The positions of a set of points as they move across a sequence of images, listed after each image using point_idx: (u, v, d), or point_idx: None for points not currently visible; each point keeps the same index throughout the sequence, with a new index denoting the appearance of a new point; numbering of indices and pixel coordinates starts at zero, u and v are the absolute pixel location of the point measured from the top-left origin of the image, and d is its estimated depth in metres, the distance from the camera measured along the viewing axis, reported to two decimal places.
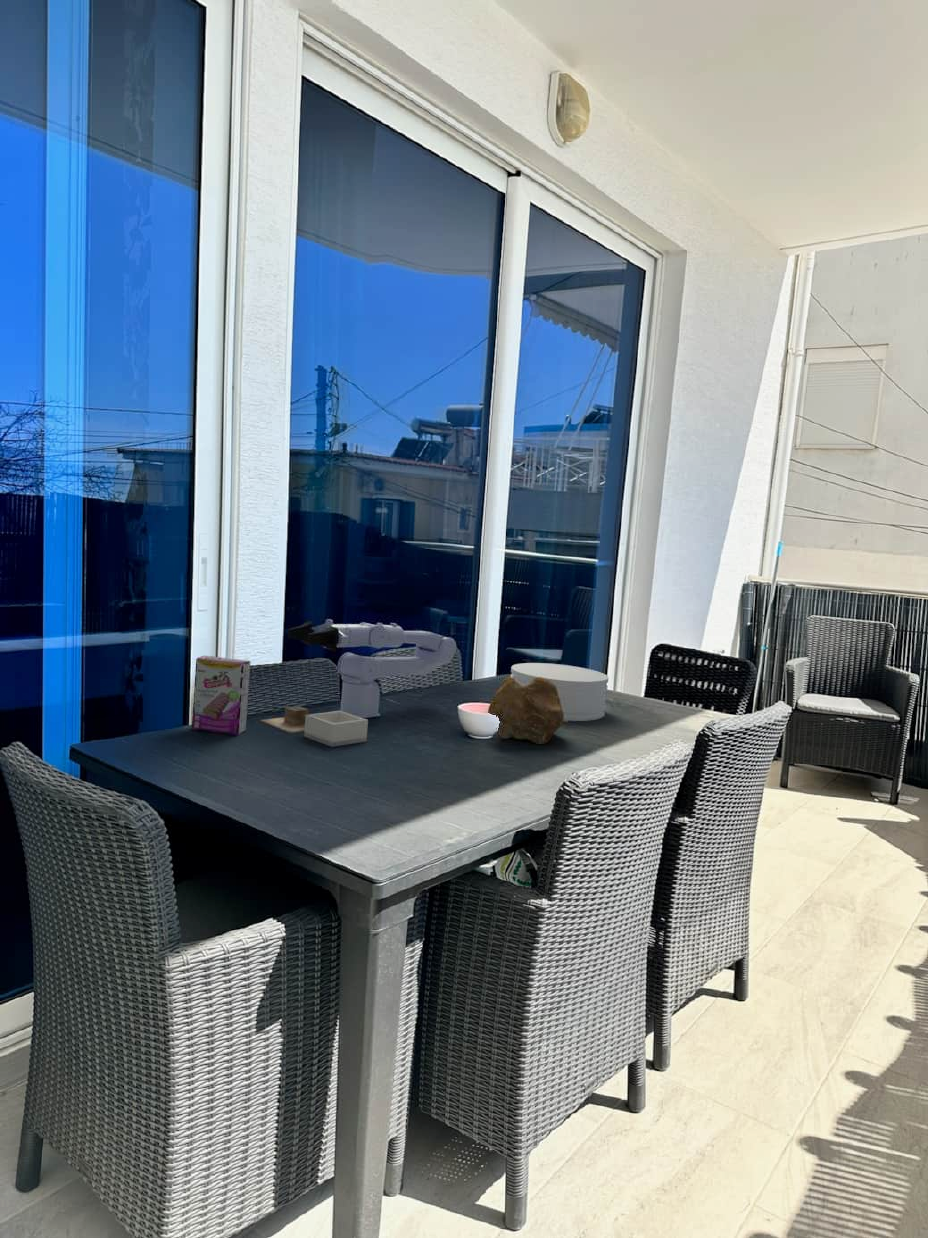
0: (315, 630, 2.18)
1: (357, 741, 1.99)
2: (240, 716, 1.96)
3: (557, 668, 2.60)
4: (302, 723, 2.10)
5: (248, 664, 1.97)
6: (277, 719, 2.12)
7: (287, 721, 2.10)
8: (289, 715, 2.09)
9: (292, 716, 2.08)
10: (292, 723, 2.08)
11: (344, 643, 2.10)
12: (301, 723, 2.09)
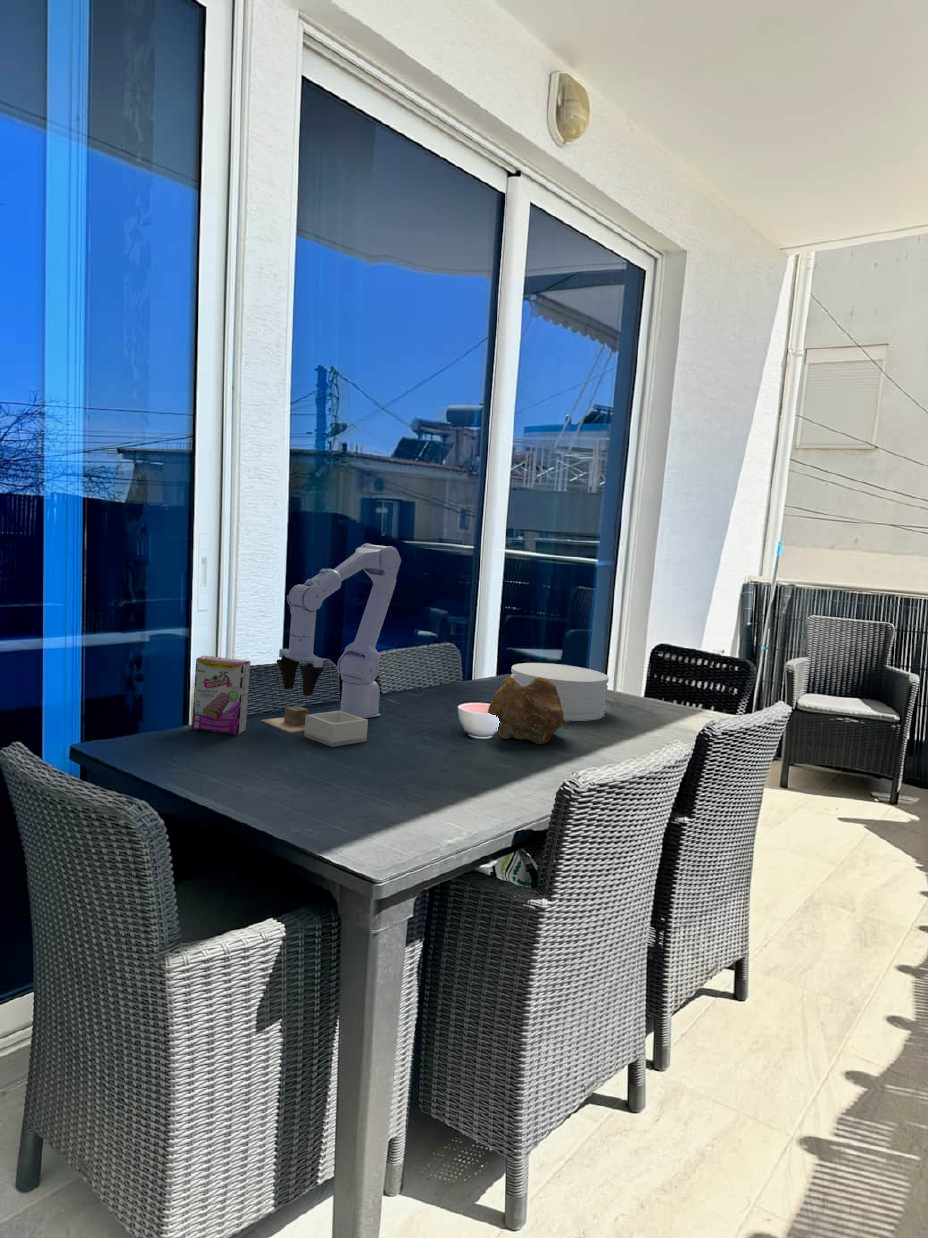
0: None
1: (357, 741, 1.99)
2: (240, 716, 1.96)
3: (557, 668, 2.60)
4: (302, 723, 2.10)
5: (248, 664, 1.97)
6: (277, 719, 2.12)
7: (287, 721, 2.10)
8: (289, 715, 2.09)
9: (292, 716, 2.08)
10: (292, 723, 2.08)
11: (321, 663, 2.04)
12: (301, 723, 2.09)
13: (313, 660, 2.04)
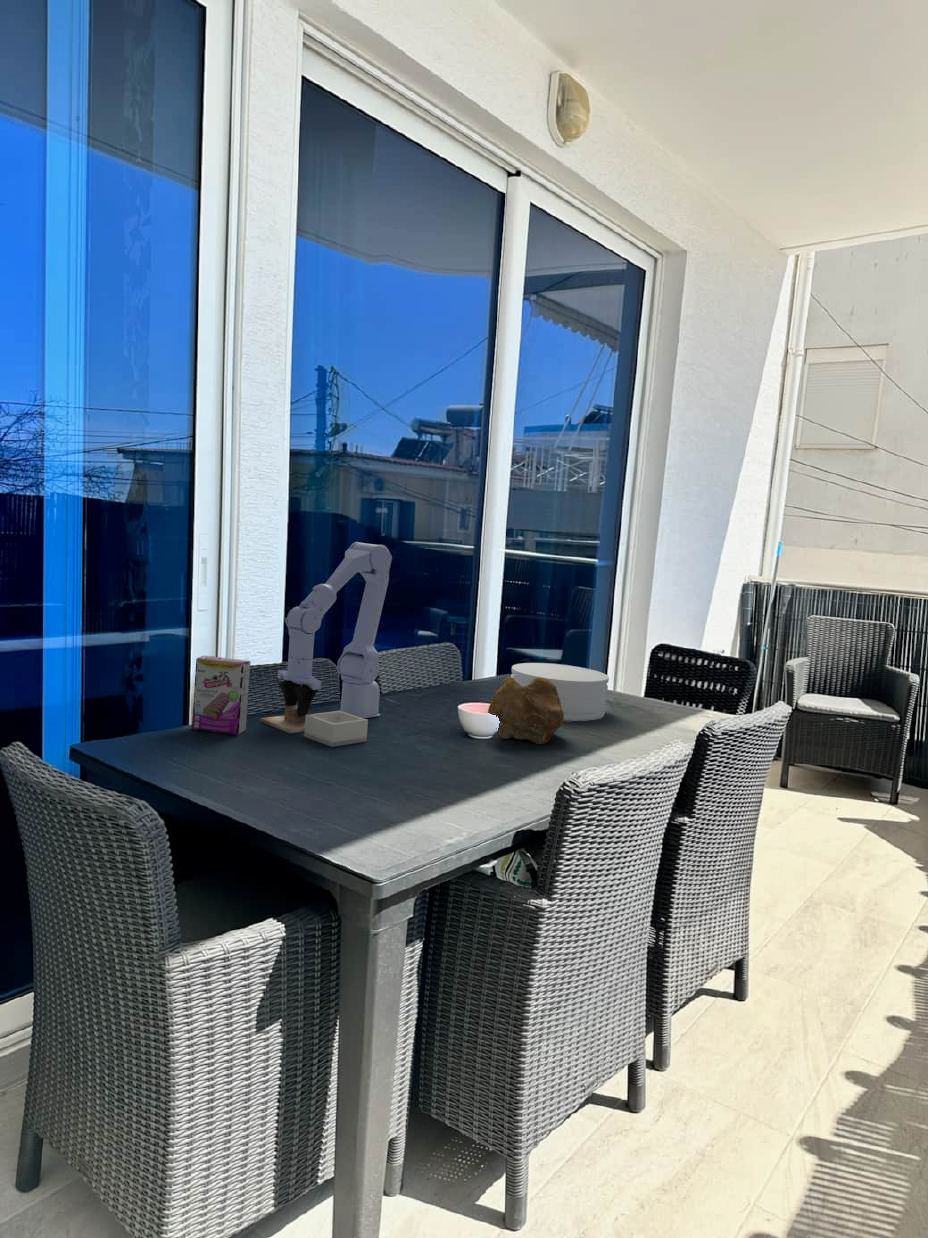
0: None
1: (357, 741, 1.99)
2: (240, 716, 1.96)
3: (557, 668, 2.60)
4: (303, 721, 2.10)
5: (248, 664, 1.97)
6: (277, 717, 2.12)
7: (287, 719, 2.09)
8: (289, 713, 2.09)
9: (292, 714, 2.08)
10: (292, 721, 2.08)
11: (320, 685, 2.05)
12: (301, 721, 2.09)
13: (311, 682, 2.04)
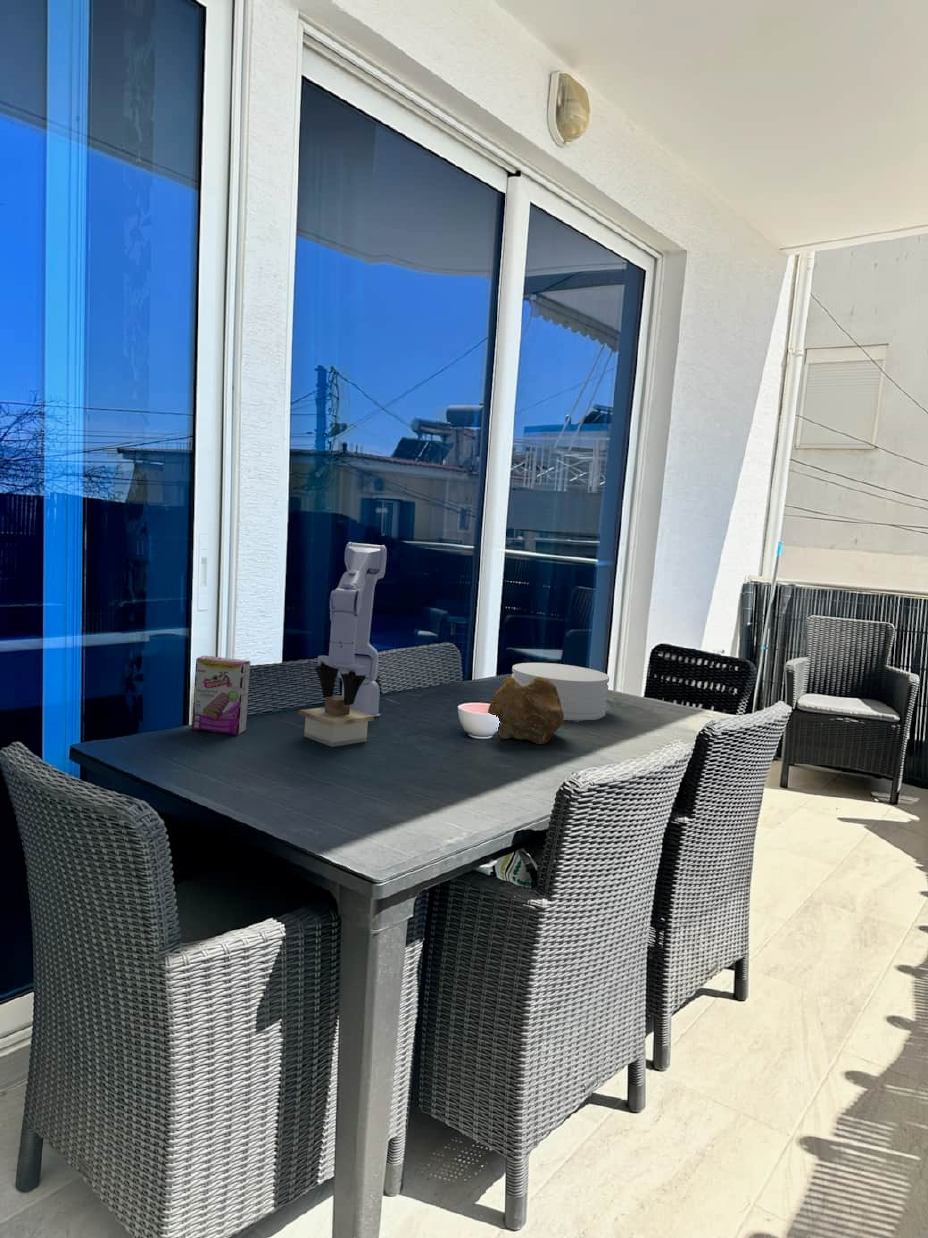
0: None
1: (357, 741, 1.99)
2: (240, 716, 1.96)
3: (558, 668, 2.60)
4: (344, 713, 1.99)
5: (248, 664, 1.97)
6: (317, 709, 2.02)
7: (328, 711, 1.99)
8: (330, 705, 1.98)
9: (333, 706, 1.97)
10: (333, 713, 1.97)
11: (364, 670, 1.94)
12: (343, 713, 1.99)
13: (355, 668, 1.94)
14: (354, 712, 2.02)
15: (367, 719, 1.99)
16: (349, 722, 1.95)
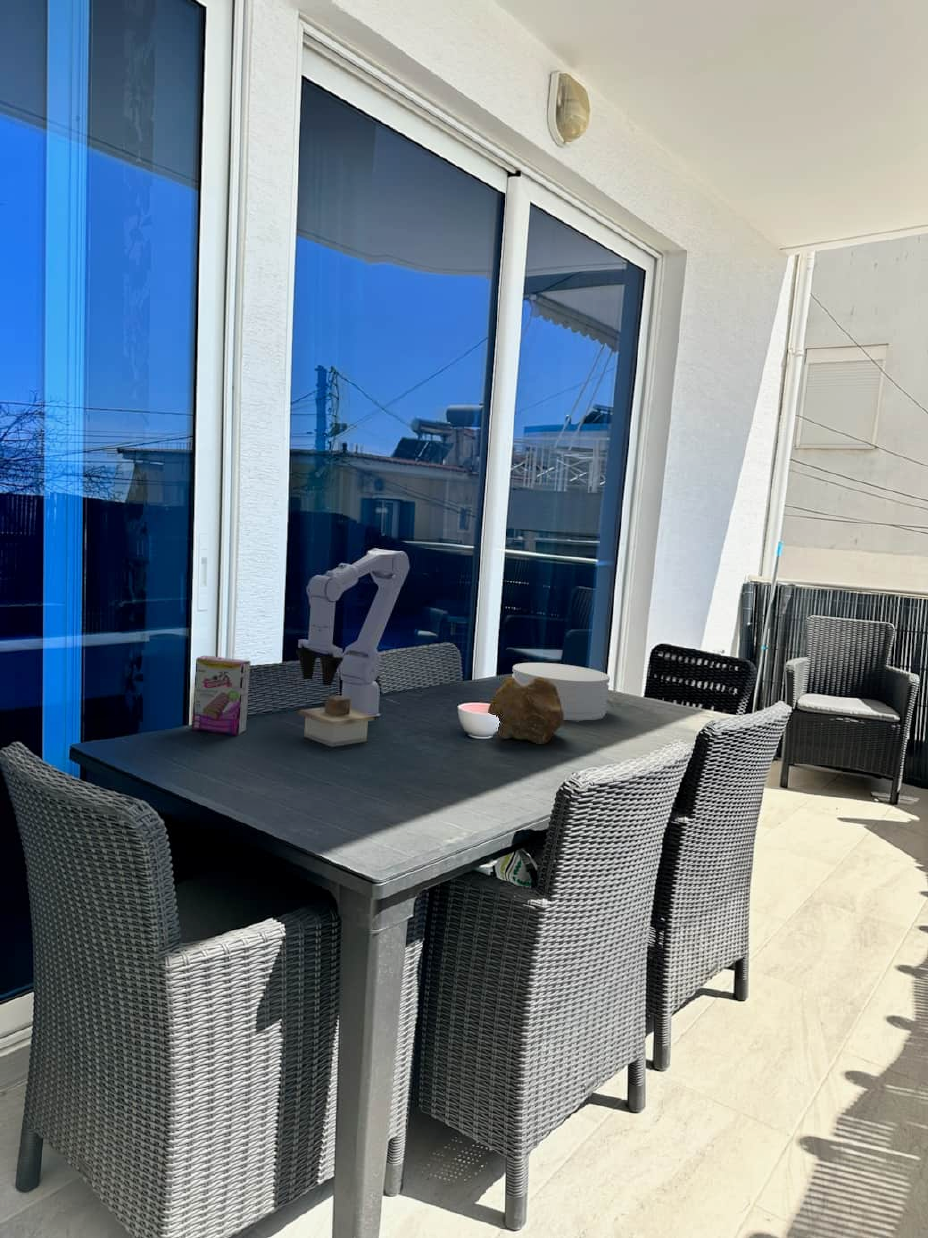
0: None
1: (357, 741, 1.99)
2: (240, 716, 1.96)
3: (558, 668, 2.60)
4: (344, 713, 1.99)
5: (248, 664, 1.97)
6: (317, 709, 2.02)
7: (328, 711, 1.99)
8: (330, 705, 1.98)
9: (333, 706, 1.97)
10: (333, 713, 1.97)
11: (341, 653, 2.06)
12: (343, 713, 1.99)
13: (333, 650, 2.05)
14: (354, 712, 2.02)
15: (367, 719, 1.99)
16: (349, 722, 1.95)
